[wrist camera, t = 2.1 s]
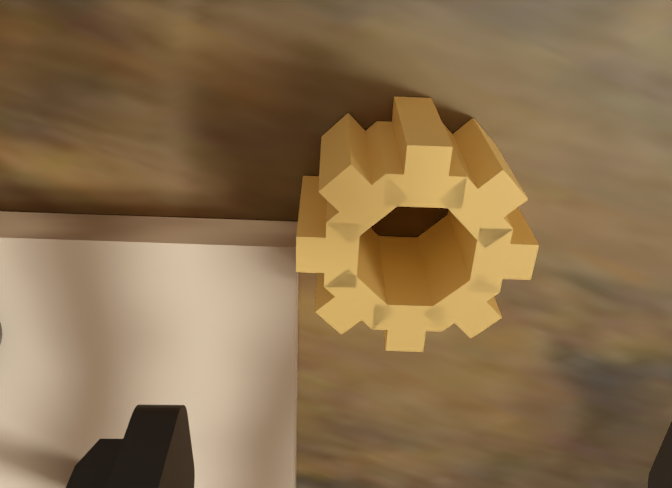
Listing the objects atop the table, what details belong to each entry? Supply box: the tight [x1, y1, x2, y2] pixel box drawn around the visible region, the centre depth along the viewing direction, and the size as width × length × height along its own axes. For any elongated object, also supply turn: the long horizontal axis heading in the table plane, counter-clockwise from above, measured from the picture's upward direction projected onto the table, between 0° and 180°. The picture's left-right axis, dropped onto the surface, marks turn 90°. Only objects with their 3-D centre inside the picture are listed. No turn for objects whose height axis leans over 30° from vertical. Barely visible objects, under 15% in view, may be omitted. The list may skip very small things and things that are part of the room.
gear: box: [296, 96, 539, 352], centre depth 16 cm, size 6×6×4 cm
